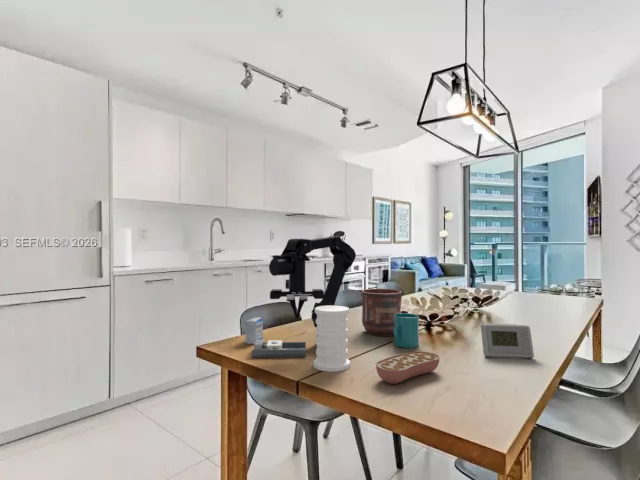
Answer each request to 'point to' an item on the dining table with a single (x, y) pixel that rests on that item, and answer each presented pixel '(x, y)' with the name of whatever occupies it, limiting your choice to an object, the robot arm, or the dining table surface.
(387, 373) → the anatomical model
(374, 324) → the pottery
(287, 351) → the gauge stand
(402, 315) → the cup
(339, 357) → the decorative container
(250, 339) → the medicine box
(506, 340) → the digital thermostat
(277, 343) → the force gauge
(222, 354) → the dining table surface
